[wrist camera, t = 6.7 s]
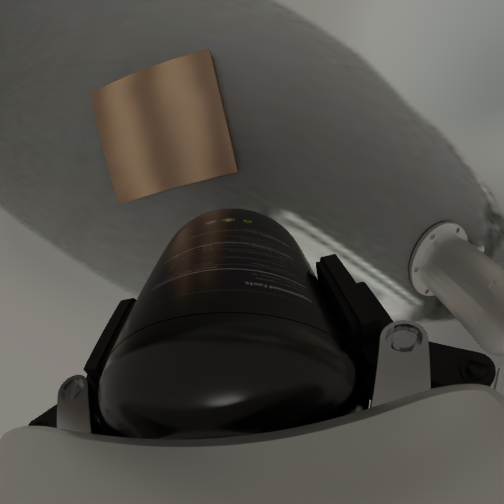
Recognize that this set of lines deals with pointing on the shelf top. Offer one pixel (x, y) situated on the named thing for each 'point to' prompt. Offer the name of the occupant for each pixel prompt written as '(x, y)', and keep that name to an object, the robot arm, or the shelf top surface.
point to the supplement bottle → (229, 340)
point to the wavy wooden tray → (164, 127)
